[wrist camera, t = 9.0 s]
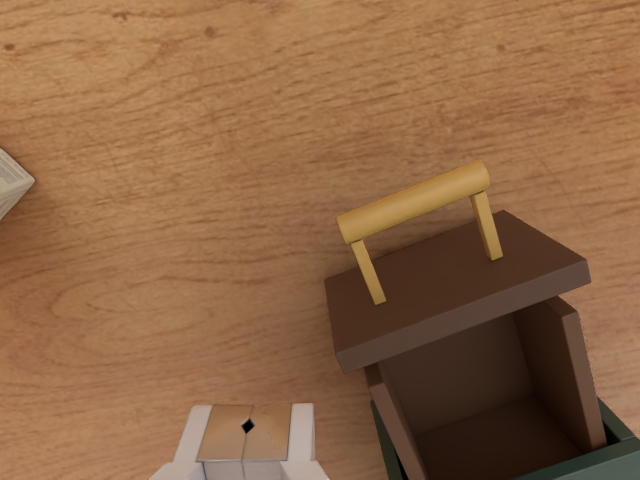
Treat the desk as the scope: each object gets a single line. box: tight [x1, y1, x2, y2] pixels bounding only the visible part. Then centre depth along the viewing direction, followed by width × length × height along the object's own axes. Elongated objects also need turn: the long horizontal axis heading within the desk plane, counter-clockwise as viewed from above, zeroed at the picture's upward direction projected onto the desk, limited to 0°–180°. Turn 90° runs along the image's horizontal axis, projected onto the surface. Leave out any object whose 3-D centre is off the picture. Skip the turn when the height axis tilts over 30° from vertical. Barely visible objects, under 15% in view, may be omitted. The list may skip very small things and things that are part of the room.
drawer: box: [324, 160, 607, 480], centre depth 24 cm, size 18×11×8 cm, turn 22°
